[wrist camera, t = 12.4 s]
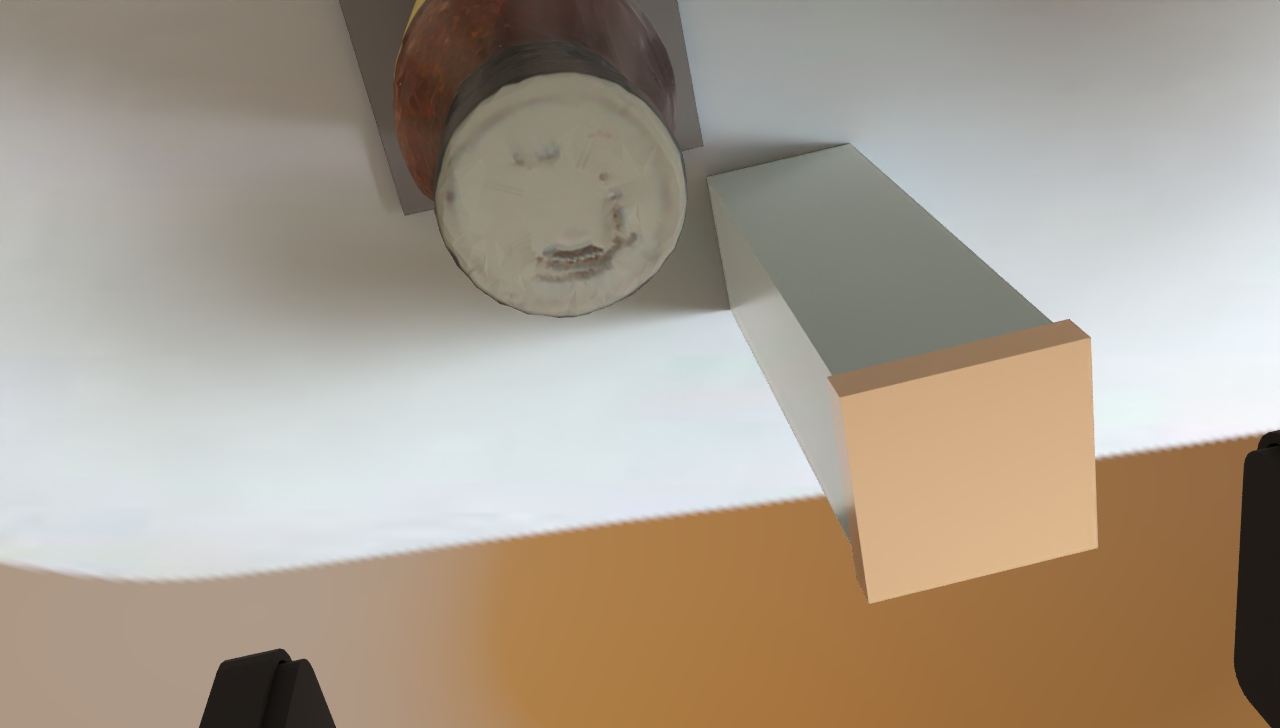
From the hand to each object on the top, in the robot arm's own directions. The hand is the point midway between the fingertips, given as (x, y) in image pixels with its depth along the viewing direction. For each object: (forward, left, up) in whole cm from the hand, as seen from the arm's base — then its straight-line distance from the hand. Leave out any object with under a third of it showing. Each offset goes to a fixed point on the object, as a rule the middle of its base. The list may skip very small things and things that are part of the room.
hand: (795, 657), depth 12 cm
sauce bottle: (+1, -2, -29) cm, 29 cm away
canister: (-6, +7, -29) cm, 31 cm away
